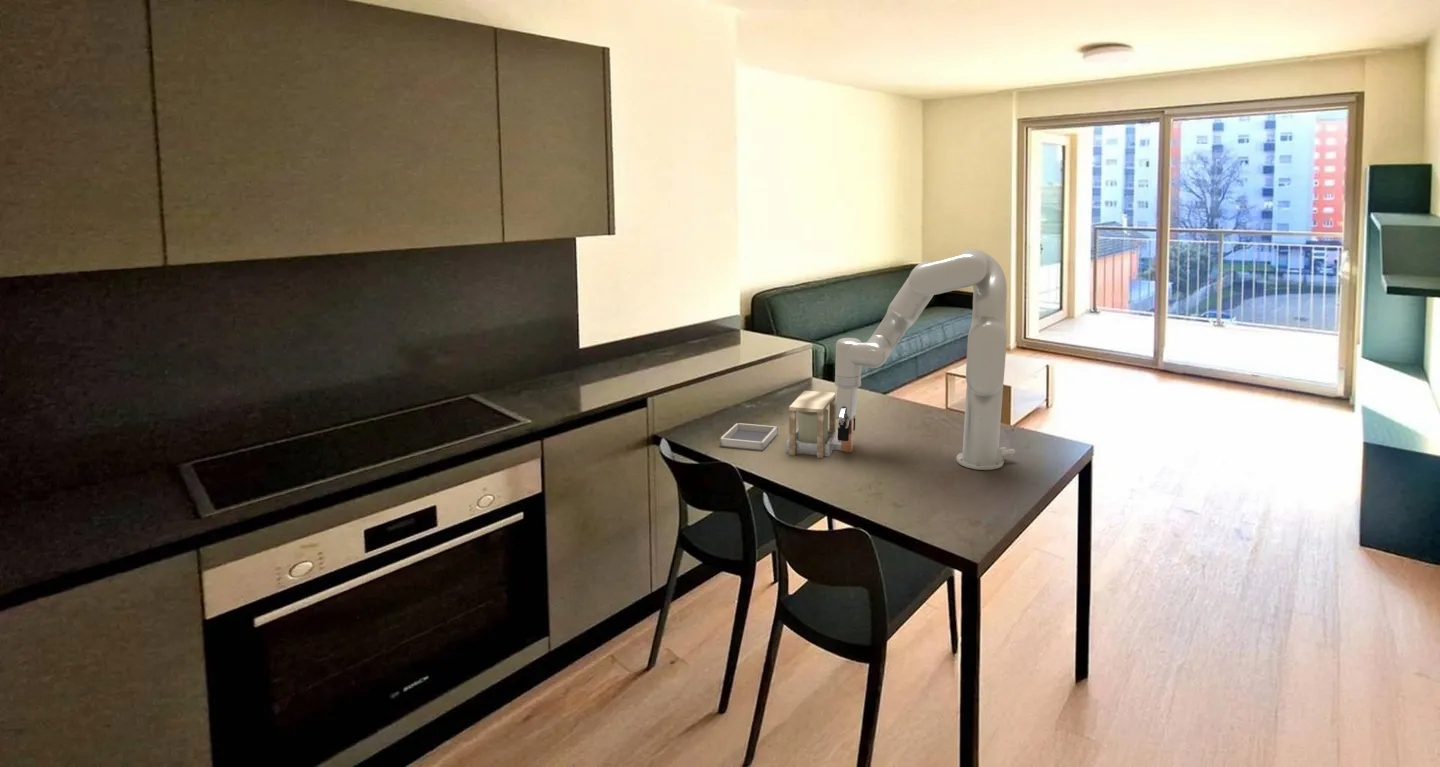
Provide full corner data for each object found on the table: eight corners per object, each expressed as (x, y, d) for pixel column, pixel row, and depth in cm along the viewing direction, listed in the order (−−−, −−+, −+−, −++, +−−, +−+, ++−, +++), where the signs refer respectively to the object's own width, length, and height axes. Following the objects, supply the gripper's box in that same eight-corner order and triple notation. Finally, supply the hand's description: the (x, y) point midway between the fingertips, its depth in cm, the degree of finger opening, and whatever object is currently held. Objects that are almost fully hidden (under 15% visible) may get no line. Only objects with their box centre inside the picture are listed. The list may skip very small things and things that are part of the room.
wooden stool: (835, 438, 233) (835, 392, 229) (822, 458, 217) (822, 409, 213) (804, 435, 237) (804, 390, 233) (789, 455, 221) (789, 406, 217)
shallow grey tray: (856, 442, 229) (856, 411, 226) (847, 458, 216) (848, 425, 214) (798, 437, 235) (798, 407, 233) (786, 452, 223) (786, 420, 220)
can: (830, 451, 222) (830, 413, 219) (799, 452, 223) (799, 414, 219) (826, 441, 231) (826, 404, 228) (796, 441, 231) (796, 405, 228)
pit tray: (777, 434, 239) (777, 426, 238) (763, 451, 224) (762, 442, 224) (736, 430, 244) (736, 422, 243) (719, 446, 229) (719, 438, 229)
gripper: (841, 372, 227) (839, 425, 231) (829, 386, 211) (827, 443, 216) (865, 374, 224) (864, 427, 229) (855, 388, 209) (853, 446, 213)
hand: (846, 435), depth 222 cm, fingers open, 9 cm apart
